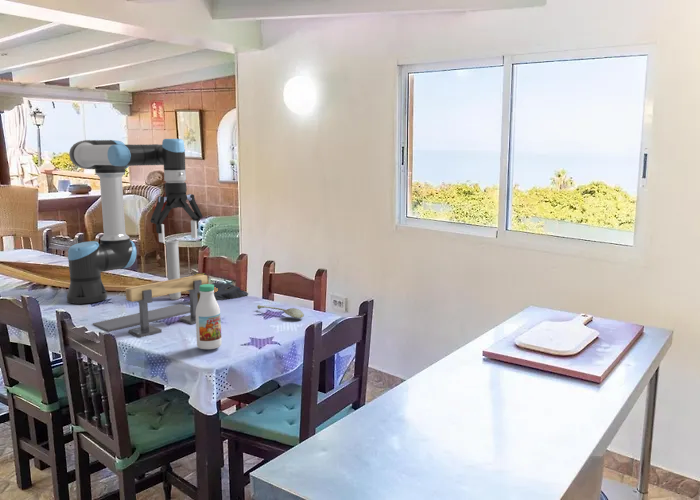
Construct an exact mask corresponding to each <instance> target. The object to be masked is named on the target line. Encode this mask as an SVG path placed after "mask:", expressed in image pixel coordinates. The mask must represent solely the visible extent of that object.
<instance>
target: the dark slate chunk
mask: <svg viewBox="0 0 700 500" xmlns="http://www.w3.org/2000/svg"><path fill="white" fill-rule="evenodd" d="M211 284H213V285H214V287H216V288H218V291H217V292H215V293H214V297H215V299H216V301H226V300H236V299H240V298H242V297H245V296H249V292H247V291H245V290H243V289H241V287H239V286H237V285H234V284H231V283H223V282H222V283H221V282H213V283H211Z"/></svg>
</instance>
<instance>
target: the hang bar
mask: <svg viewBox="0 0 700 500" xmlns="http://www.w3.org/2000/svg"><path fill="white" fill-rule="evenodd" d="M193 275H194V274H193ZM193 275H190V276H185V277H180V278H178V279H173V280H168V279H167V280H163V281H158V282H151V283H147V284H142V285H137V286H131V287H130V286H129V287H126V288H125V289H124V290H125V300H126V301H129V302H132V303H133V302H137V301H139V300H142V291H143V290H148V289H151V290H152V299H153V298H158V297H161V296H162V297H163V296H167V295H168V296H169V294H173V293H178V292H181V293H182V292H188V291H187V290H192V289H193V281H195V280H202V285H203V284H209V280H208V275H207V274H206V275H207V276H206V275H202V274H200V275H194V276H193Z"/></svg>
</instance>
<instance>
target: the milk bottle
mask: <svg viewBox="0 0 700 500" xmlns="http://www.w3.org/2000/svg"><path fill="white" fill-rule="evenodd" d="M199 290H200V299H199V302H198V304H197V307H196V324H195V329H196V330H195V331H196V333H195V334H196V346H197V348H198V349H201V350H215V349H217V348H219V347H221V346H222V321H221V318H222V317H221V309H220V306H219V304H218V303H219V302H218V300H216V299H215V297H214V285H213V284H212V283H208V284H203V285H200V286H199Z"/></svg>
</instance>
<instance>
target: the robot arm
mask: <svg viewBox="0 0 700 500" xmlns="http://www.w3.org/2000/svg"><path fill="white" fill-rule="evenodd" d="M68 154H69V159H70V161H71V163H72V164H73V165H74V166H76V167H77V168H80V169H84V170H94V173H95V175H96V176H98V178H99V187H100V199H101V213H102V226H103V227H102V229H103V235H102V236H101V237H100V243H99V242H98V241H96V240H95V241H94V240H90V241H83V242H78V243H75V244H72V245H71V246H69V248H68V250H67V261H68V270H69V279H70V281H69V282H70V283H69V286H68V291H67V294H66V302H67V303H68V304H77V305H78V304H91V303H97V302H101V301H103V300H106V299H107V298H108V293H107V290H106V287H105V286H104V283H103V281H102V275H101V274H102V273H104V272H109V271H115V270H123V269H127V268H130V267H132V266H133V264H134V263H135V262H136V260H137V259H136V258H137V247H136V244H135V243H134V241H133V240H130V236H129V235H128V234H127V233H126V221H125V218H126V217H125V208H124V207H125V204H124V193H123V191H124V189H123V177H124V175H125V174H126V169H128V168H129V167H134V166H163V176H164V179H163V180H164V182H165V183H164V192H165V196H163V195H162V196H161V195H158V196H157V202H156V206H155V207H154V211H153V213H152V216H151V219H150V223H152V224H154V225H155V229H156V233H157V234H158V242H159V243H166V242H165V241H166V238H165V237H166V236H165V224H163V223H164V221H165V219H166V218H167V216H168V214H169V213H170V211H172V209H178V208H181V209H183V210H184V211H185V213H187V215H188V216H189V217H190V218H191V220H190V232H191V234H190V235H191V236H190V237H191V238H192V239H198V230H199V221H200V220H201V219H203V218H204V216H203V213H202V212H201V210H200V208H199V205H198V204H197V201H196V199H195V195H194V194H191V193H189V194H187V183H186V182H185V181H186V180H187V177H186V149H185V141H184V140H183V139H182V138H163V140H162V143H161V144H158V143H157V144H126V143H124V142H122V141H121V140H113V139H105V140H104V139H101V140H99V139H94V140H92V139H85V140H80V141H77V142H75V143H74V144H73V145H72V146H71V147H70V149H69V152H68ZM187 200H188V203H187ZM165 202H166V203H165ZM189 205H190V206H191V208H190V206H189Z"/></svg>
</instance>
